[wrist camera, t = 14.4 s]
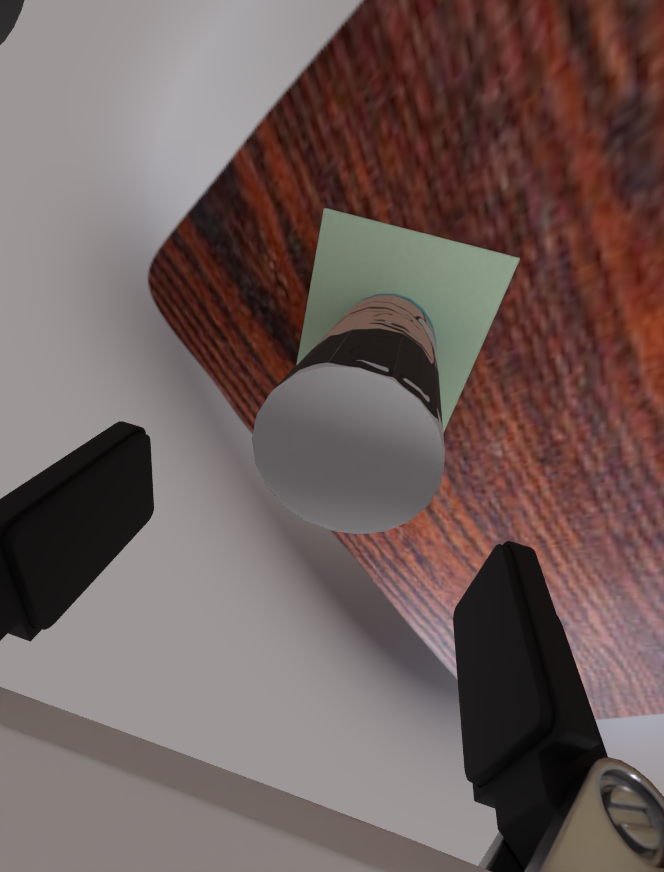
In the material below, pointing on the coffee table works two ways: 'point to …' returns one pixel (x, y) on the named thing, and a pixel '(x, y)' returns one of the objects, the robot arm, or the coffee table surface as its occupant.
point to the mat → (408, 288)
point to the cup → (358, 422)
